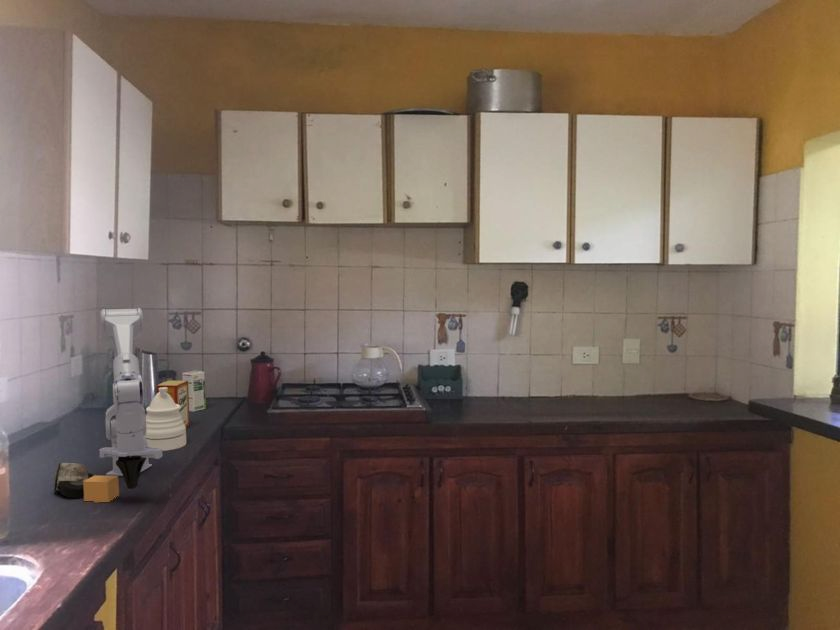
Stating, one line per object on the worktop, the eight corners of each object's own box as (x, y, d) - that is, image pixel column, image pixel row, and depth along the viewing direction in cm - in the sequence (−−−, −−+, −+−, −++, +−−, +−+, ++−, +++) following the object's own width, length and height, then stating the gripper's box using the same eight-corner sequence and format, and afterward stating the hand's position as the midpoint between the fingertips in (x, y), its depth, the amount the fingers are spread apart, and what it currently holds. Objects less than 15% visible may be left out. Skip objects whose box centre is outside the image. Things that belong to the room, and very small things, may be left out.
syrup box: (193, 412, 252) (192, 373, 250) (183, 410, 255) (182, 372, 254) (206, 409, 256) (205, 371, 255) (196, 407, 260) (194, 369, 258)
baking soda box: (170, 425, 231) (169, 379, 230) (189, 425, 231) (187, 379, 229) (158, 432, 222) (156, 384, 220) (178, 432, 221) (176, 384, 220)
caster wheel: (94, 506, 163) (47, 505, 159) (99, 482, 173) (55, 481, 169) (97, 481, 161) (49, 480, 158) (102, 458, 171) (58, 457, 168)
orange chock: (94, 495, 163) (93, 475, 163) (119, 496, 162) (118, 476, 162) (83, 502, 159) (82, 481, 158) (108, 503, 158) (107, 482, 157)
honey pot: (190, 447, 205) (188, 388, 203) (145, 453, 198) (142, 392, 197) (181, 437, 216) (179, 381, 214) (138, 443, 209) (136, 385, 208)
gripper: (90, 434, 155) (93, 492, 156) (150, 435, 153) (153, 494, 154) (108, 426, 162) (110, 482, 163) (165, 427, 160) (168, 483, 161)
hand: (132, 487), depth 159 cm, fingers closed
